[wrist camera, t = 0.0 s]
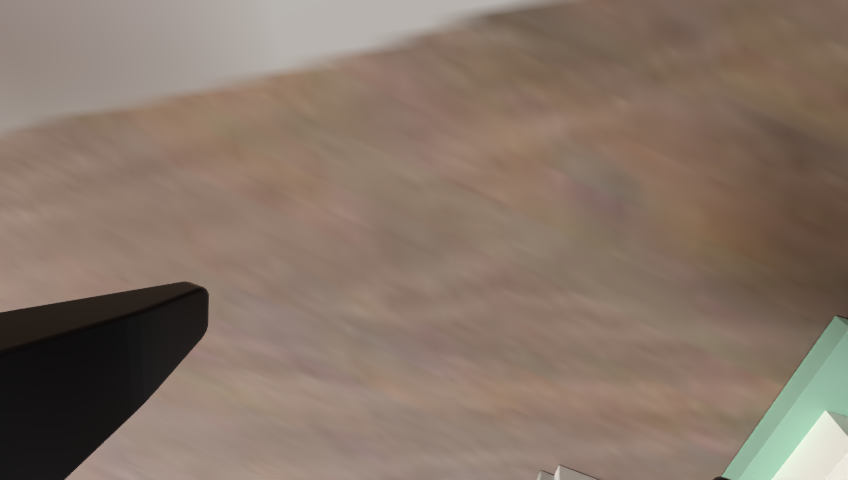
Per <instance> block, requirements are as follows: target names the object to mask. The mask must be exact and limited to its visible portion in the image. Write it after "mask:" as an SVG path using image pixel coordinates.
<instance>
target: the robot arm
mask: <svg viewBox="0 0 848 480" xmlns="http://www.w3.org/2000/svg"><path fill="white" fill-rule="evenodd" d="M208 306H209V294H208V291H207V290H206V289H205V288H204V287H201V286H199V285H196V284H193V283H190V282H178V283H172V284H166V285H160V286H155V287H149V288H143V289H137V290H131V291H125V292H119V293H113V294H107V295H101V296H95V297H89V298H83V299H78V300H72V301H66V302H60V303H54V304H48V305H42V306H36V307H30V308H24V309H18V310H12V311H7V312H1V313H0V480H65V479H66V478H67V477H68V476H69V475H70V474H71V473H72V472H73V471H74V470H75V469H76V468H77V467H78V466H79V465H80V464H81V463H82V462H83V461H84V460H86V459H87V458H88V457H89V456H90V455H91V454H92V453H93V452H94V451H95V450H96V449H97V448H98V447H99V446H100V445H101V444H102V443H103V442H104V441H106V440H107V439H108V438H109V437H110V436H111V435H112V434H113V433H114V432H115V431H116V430H117V429H118V428H119V427H120V426H121V425H122V424H123V423H124V422H125V421H127V420H128V419H129V418H130V417H131V416H132V415H133V414H134V413H135V412H136V411H137V410H138V409H139V408H140V407H141V406H142V405H143V404H144V403H145V402H146V401H147V400H148V399H149V398H150V396H151V395H152V394H153V393H154V392H155V391H156V390H157V389H158V388H159V387H160V385H161V384H162V383H163V382H164V381H165V380H166V379H167V377H168V376H169V375H170V374H171V373H172V372H173V371H174V369H175V368H176V367H177V366H178V365H179V364H180V363H181V361H182V360H183V359H184V358H185V357H186V356H187V355H188V353H189V352H190V351H191V350H192V349H193V348H194V347H195V345H196V344H197V343H198V342H199V341H200V340H201V339H202V337H203V336H204V334H205V332H206V330H207V327H208ZM713 480H730V479H728V478H725V477H716V478H714V479H713Z"/></svg>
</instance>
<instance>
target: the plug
mask: <svg viewBox="0 0 848 480" xmlns="http://www.w3.org/2000/svg"><path fill="white" fill-rule="evenodd" d="M537 480H597V479H594V478H592V477H589V476H586V475H584V474H581V473H579V472H576V471H573V470H571V469H568V468H565V467H563V466H560V465H559V466H558V468H557V471H556V473H555V475H551V474H549V473H546V472H543V471H540V473H539V475H538V477H537Z"/></svg>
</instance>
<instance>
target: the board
mask: <svg viewBox="0 0 848 480" xmlns="http://www.w3.org/2000/svg"><path fill="white" fill-rule="evenodd" d="M721 477H725V478H728V479H730V480H848V319H844V318H841V317H838V316H835V317H834V318H833V319H832V321H831V322H830V324H829V325H828V327H827V328H826V329H825V331H824V332H823V334H822V335H821V336H820V338H819V339H818V341H817V342H816V344H815V345H814V346H813V348H812V349H811V351H810V352H809V353H808V355H807V356H806V358H805V359H804V360H803V362H802V363H801V365H800V366H799V368H798V369H797V370H796V372H795V373H794V375H793V376H792V377H791V379H790V380H789V382H788V383H787V384H786V386H785V387H784V389H783V390H782V392H781V393H780V394H779V396H778V397H777V399H776V400H775V401H774V403H773V404H772V406H771V407H770V409H769V410H768V411H767V413H766V414H765V416H764V417H763V418H762V420H761V421H760V423H759V424H758V425H757V427H756V428H755V430H754V431H753V433H752V434H751V435H750V437H749V438H748V440H747V441H746V442H745V444H744V445H743V447H742V448H741V449H740V451H739V452H738V454H737V455H736V457H735V458H734V459H733V461H732V462H731V464H730V465H729V466H728V468H727V469H726V471H725V472H724V474H723V475H722V476H721Z"/></svg>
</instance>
